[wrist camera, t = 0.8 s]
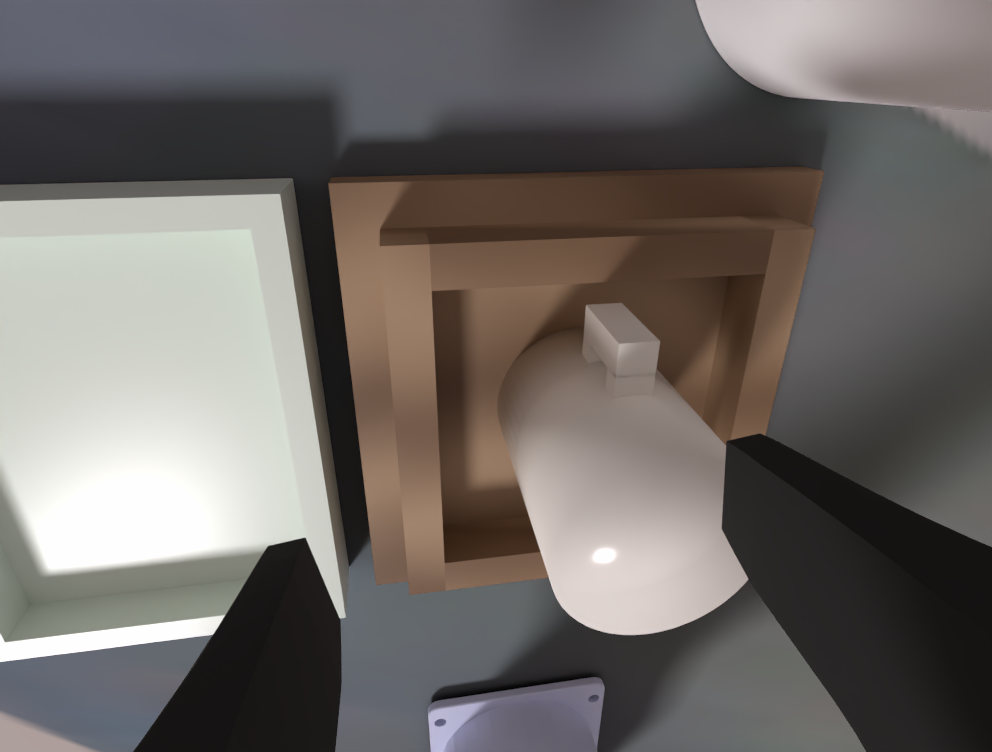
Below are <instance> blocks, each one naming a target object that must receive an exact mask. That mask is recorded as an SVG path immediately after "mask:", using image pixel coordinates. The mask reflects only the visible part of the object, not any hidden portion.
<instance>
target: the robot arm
mask: <svg viewBox="0 0 992 752" xmlns="http://www.w3.org/2000/svg"><path fill="white" fill-rule="evenodd" d="M722 531H723V533H724V534H725V536H726V538H727V540H728V542H729V544H730V546H731V548H732V550H733V552H734V554H735V556H736V558H737V559H738V561H739V563H740V565H741V566H742V568H743V570H744V572H745V574H746V575H747V577H748V579H749V581H750V582H751V584H752V585H753V587H754V588H755V590H756V591H757V593H758V594H759V595H760V597H761V598H762V600H763V601H764V603H765V604H766V605H767V607H768V608H769V610H770V611H771V613H772V614H773V615H774V617H775V618H776V620H777V621H778V623H779V624H780V625H781V627H782V628H783V630H784V631H785V632H786V634H787V635H788V637H789V638H790V639H791V641H792V642H793V644H794V645H795V646H796V648H797V649H798V651H799V652H800V653H801V655H802V656H803V658H804V659H805V660H806V662H807V663H808V665H809V666H810V667H811V669H812V670H813V672H814V673H815V674H816V676H817V677H818V679H819V680H820V681H821V683H822V684H823V686H824V687H825V688H826V690H827V691H828V693H829V694H830V695H831V697H832V698H833V700H834V701H835V703H836V704H837V706H838V707H839V709H840V710H841V712H842V713H843V715H844V716H845V718H846V719H847V721H848V722H849V724H850V725H851V727H852V728H853V730H854V732H855V733H856V735H857V737H858V738H859V740H860V742H861V743H862V745H863V747H864V748H865V750H866V752H992V547H990V546H988V545H985V544H983V543H980V542H978V541H976V540H974V539H971V538H969V537H967V536H965V535H962V534H960V533H958V532H956V531H954V530H952V529H949V528H947V527H945V526H943V525H941V524H938V523H936V522H934V521H932V520H930V519H927V518H925V517H923V516H921V515H919V514H917V513H915V512H913V511H911V510H909V509H907V508H905V507H902V506H900V505H898V504H896V503H894V502H892V501H890V500H888V499H886V498H884V497H882V496H880V495H878V494H876V493H874V492H873V491H871V490H869V489H867V488H865V487H863V486H861V485H859V484H857V483H855V482H853V481H851V480H849V479H847V478H845V477H844V476H842V475H840V474H838V473H836V472H834V471H832V470H830V469H828V468H826V467H825V466H823V465H821V464H819V463H817V462H815V461H813V460H811V459H810V458H808V457H806V456H804V455H802V454H800V453H798V452H796V451H794V450H793V449H791V448H789V447H787V446H785V445H783V444H781V443H779V442H777V441H775V440H773V439H771V438H769V437H767V436H765V435H763V434H761V433H759V434H755V435H750V436H746V437H742V438H737V439H733V440H729V441H726V458H725V476H724V494H723V511H722ZM604 691H605V688H604V684H603V681H602V680H601V679H600V678H598V677H590V678H583V679H577V680H570V681H564V682H557V683H550V684H544V685H537V686H531V687H524V688H517V689H511V690H504V691H498V692H491V693H484V694H478V695H471V696H465V697H458V698H451V699H445V700H438V701H435V702H433V703H432V704H431V705H430V706H429V707H428V719H429V732H430V745H431V752H597V745H598V737H599V729H600V722H601V714H602V706H603V698H604ZM340 694H341V626H340V618H339V616H338V614H337V611H336V609H335V606H334V604H333V602H332V599H331V597H330V594H329V592H328V590H327V587H326V585H325V583H324V580H323V578H322V575H321V573H320V571H319V568H318V566H317V564H316V561H315V559H314V556H313V554H312V552H311V549H310V547H309V545H308V542H307V540H306V537H305V538H301V539H296V540H292V541H288V542H283V543H279V544H275V545H270V546H268V547H267V548H266V550H265V551H264V552H263V554H262V556H261V557H260V559H259V561H258V562H257V564H256V565H255V567H254V569H253V570H252V572H251V574H250V575H249V577H248V579H247V580H246V582H245V584H244V585H243V587H242V589H241V590H240V592H239V594H238V595H237V597H236V599H235V600H234V602H233V603H232V605H231V607H230V608H229V610H228V612H227V613H226V615H225V616H224V618H223V620H222V621H221V623H220V625H219V626H218V628H217V629H216V631H215V632H214V634H213V636H212V637H211V639H210V640H209V642H208V643H207V645H206V647H205V648H204V650H203V651H202V653H201V654H200V656H199V657H198V659H197V661H196V662H195V664H194V665H193V667H192V668H191V670H190V671H189V673H188V674H187V676H186V677H185V679H184V680H183V682H182V683H181V685H180V686H179V688H178V689H177V691H176V692H175V693H174V695H173V696H172V698H171V699H170V701H169V702H168V704H167V705H166V706H165V708H164V709H163V711H162V712H161V714H160V715H159V716H158V718H157V719H156V721H155V722H154V724H153V725H152V726H151V728H150V729H149V731H148V732H147V734H146V735H145V736H144V738H143V739H142V741H141V742H140V743H139V745H138V746H137V747H136V749H135V750H134V751H133V752H335V746H336V736H337V726H338V715H339V705H340Z"/></svg>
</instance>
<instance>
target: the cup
mask: <svg viewBox="0 0 992 752" xmlns="http://www.w3.org/2000/svg"><path fill="white" fill-rule="evenodd" d="M695 1H696V4H697V8H698V11H699V14H700V17H701V20H702V22H703V25H704V27H705V30H706V32H707V34H708V36H709V38H710V40H711V41H712V43H713V45H714V46H715V48H716V49H717V51H718V52H719V54H720V55H721V57H722V58H723V59H724V60H725V61H726V63H727V64H728V65H729V66H730V67H731V68H732V69H733V70H734V71H735V72H736V73H737V74H739V75H740V76H741V77H742V78H744V79H745V80H747V81H748V82H749V83H751V84H753V85H755V86H757V87H758V88H760V89H763V90H765V91H768V92H770V93H773V94H777V95H781V96H785V97H793V98H804V99H818V100H831V101H845V102H858V103H872V104H885V105H899V106H913V107H926V108H940V109H953V110H967V111H981V112H992V0H695Z"/></svg>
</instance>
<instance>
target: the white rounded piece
mask: <svg viewBox="0 0 992 752" xmlns="http://www.w3.org/2000/svg"><path fill="white" fill-rule="evenodd" d="M659 346H660V340H659V339H658V338H657V337H656V336H655V335H654V334H652V333H651V332H650V331H649V330H648V329H647V328H646V327H645V326H644V325H643V324H642V323H641V322H640V321H639V320H638V319H637V318H636V317H635V316H634V315H633V314H632V313H631V312H630V311H629V310H628V309H627V308H626V307H625V306H624V305H623V304H622V303H609V304H591V305H586V310H585V324H584V327H575V328H569V329H565V330H561V331H558V332H555V333H552V334H550V335H548V336H546V337H544V338H542V339H540V340H538V341H537V342H535V343H534V344H532V345H531V346H530V347H528V348H527V349H526V350H525V351H524V352H523V353H521V355H520V356H519V357H518V358H517V359H516V360H515V361H514V362H513V364H512V365H511V367H510V368H509V370H508V371H507V373H506V375H505V377H504V379H503V381H502V384H501V387H500V390H499V394H498V401H497V414H498V420H499V424H500V428H501V431H502V434H503V437H504V440H505V443H506V446H507V449H508V452H509V456H510V459H511V462H512V465H513V468H514V471H515V474H516V477H517V480H518V484H519V487H520V490H521V493H522V496H523V499H524V502H525V505H526V508H527V511H528V515H529V518H530V521H531V524H532V527H533V530H534V533H535V536H536V539H537V542H538V546H539V549H540V552H541V555H542V558H543V561H544V564H545V567H546V570H547V573H548V577H549V580H550V583H551V586H552V589H553V591H554V594H555V596H556V599H557V600H558V602H559V603H560V605H561V606H562V608H563V609H564V610H565V611H566V612H567V613H568V614H569V615H570V616H571V617H573V618H574V619H575V620H577V621H578V622H580V623H582V624H584V625H585V626H587V627H590V628H592V629H595V630H598V631H602V632H606V633H610V634H619V635H641V634H651V633H656V632H661V631H665V630H669V629H672V628H676V627H679V626H681V625H684V624H687V623H689V622H691V621H693V620H696V619H698V618H700V617H702V616H704V615H705V614H707V613H709V612H711V611H712V610H714V609H715V608H717V607H718V606H720V605H721V604H723V603H724V602H725V601H727V600H728V599H729V598H730V597H731V596H733V595H734V594H735V593H736V592H737V591H738V590H739V589H740V588H741V587H742V586H743V585H744V584H745V583H746V582H747V580H748V577H747V575H746V574H745V572H744V570H743V568H742V566H741V565H740V563H739V561H738V559H737V558H736V556H735V554H734V552H733V550H732V548H731V546H730V544H729V542H728V540H727V538H726V536H725V534H724V533H723V531H722V511H723V494H724V476H725V458H726V445H725V444H724V443H723V442H722V441H721V440H720V438H719V437H718V436H717V435H716V434H715V433H714V432H713V431H712V430H711V429H710V427H709V426H708V425H707V424H706V423H705V422H704V421H703V420H702V419H701V417H700V416H699V415H698V414H697V413H696V412H695V411H694V410H693V409H692V407H691V406H690V405H689V404H688V403H687V402H686V401H685V400H684V399H683V397H682V396H681V395H680V394H679V393H678V392H677V391H676V390H675V389H674V387H673V386H672V385H671V384H670V383H669V382H668V381H667V380H666V379H665V378H664V376H663V375H662V374H661V373H660V372H659V371H658V370H657V369H656V368H657V361H658V354H659Z"/></svg>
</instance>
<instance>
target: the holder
mask: <svg viewBox="0 0 992 752" xmlns="http://www.w3.org/2000/svg"><path fill="white" fill-rule="evenodd" d="M823 175H824V171H821V170H817V169H812V168H808V167H804V166H798V167H755V168H711V169H668V170H624V171H581V172H538V173H494V174H451V175H407V176H364V177H331V179H330V181H329V183H328V185H329V194H330V202H331V210H332V219H333V227H334V236H335V244H336V252H337V261H338V269H339V278H340V286H341V294H342V303H343V311H344V319H345V328H346V336H347V345H348V353H349V361H350V370H351V378H352V387H353V395H354V403H355V412H356V420H357V429H358V437H359V445H360V454H361V462H362V471H363V479H364V487H365V496H366V504H367V512H368V521H369V529H370V538H371V546H372V554H373V563H374V571H375V580H376V585H381V584H389V583H397V582H405V581H408V584H409V595H413V594H421V593H429V592H437V591H445V590H453V589H461V588H469V587H477V586H485V585H493V584H501V583H509V582H517V581H525V580H533V579H541V578H549V577H548V573H547V570H546V567H545V564H544V561H543V558H542V555H541V552H540V549H539V546H538V542H537V539H536V536H535V533H534V530H533V527H532V524H531V521H530V518H529V515H528V511H527V508H526V505H525V502H524V499H523V496H522V493H521V490H520V487H519V484H518V480H517V477H516V474H515V471H514V468H513V465H512V462H511V459H510V456H509V452H508V449H507V446H506V443H505V440H504V437H503V434H502V431H501V428H500V424H499V420H498V414H497V401H498V394H499V390H500V387H501V384H502V381H503V379H504V377H505V375H506V373H507V371H508V370H509V368H510V367H511V365H512V364H513V362H514V361H515V360H516V359H517V358H518V357H519V356H520V355H521V353H523V352H524V351H525V350H526V349H527V348H528V347H530V346H531V345H532V344H534V343H535V342H537V341H538V340H540V339H542V338H544V337H546V336H548V335H550V334H552V333H555V332H558V331H561V330H565V329H569V328H575V327H584V324H585V310H586V305H591V304H609V303H622V304H623V305H624V306H625V307H626V308H627V309H628V310H629V311H630V312H631V313H632V314H633V315H634V316H635V317H636V318H637V319H638V320H639V321H640V322H641V323H642V324H643V325H644V326H645V327H646V328H647V329H648V330H649V331H650V332H651V333H652V334H654V335H655V336H656V337H657V338H658V339H659V340H660V346H659V354H658V361H657V368H656V369H657V370H658V371H659V372H660V373H661V374H662V375H663V376H664V378H665V379H666V380H667V381H668V382H669V383H670V384H671V385H672V386H673V387H674V389H675V390H676V391H677V392H678V393H679V394H680V395H681V396H682V397H683V399H684V400H685V401H686V402H687V403H688V404H689V405H690V406H691V407H692V409H693V410H694V411H695V412H696V413H697V414H698V415H699V416H700V417H701V419H702V420H703V421H704V422H705V423H706V424H707V425H708V426H709V427H710V429H711V430H712V431H713V432H714V433H715V434H716V435H717V436H718V437H719V438H720V440H721V441H722V442H723V443H724V444H725V445H726V441H729V440H733V439H737V438H742V437H746V436H750V435H755V434H759V433H761V434H763V435H765V436H766V432H767V427H768V423H769V419H770V415H771V411H772V407H773V403H774V399H775V395H776V390H777V386H778V382H779V378H780V374H781V370H782V366H783V362H784V358H785V353H786V349H787V345H788V341H789V337H790V333H791V329H792V325H793V321H794V316H795V312H796V308H797V304H798V300H799V296H800V292H801V288H802V283H803V279H804V275H805V271H806V267H807V263H808V259H809V255H810V251H811V246H812V242H813V238H814V234H815V230H816V229H815V228H812V227H811V225H812V221H813V217H814V213H815V208H816V204H817V200H818V196H819V192H820V187H821V183H822V179H823Z"/></svg>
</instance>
